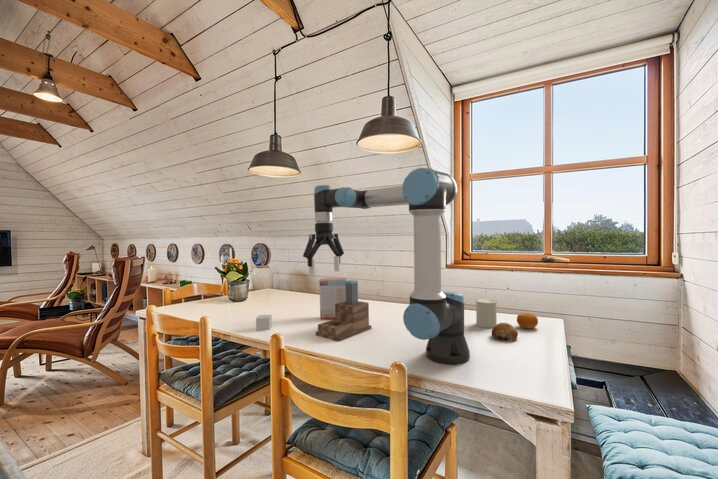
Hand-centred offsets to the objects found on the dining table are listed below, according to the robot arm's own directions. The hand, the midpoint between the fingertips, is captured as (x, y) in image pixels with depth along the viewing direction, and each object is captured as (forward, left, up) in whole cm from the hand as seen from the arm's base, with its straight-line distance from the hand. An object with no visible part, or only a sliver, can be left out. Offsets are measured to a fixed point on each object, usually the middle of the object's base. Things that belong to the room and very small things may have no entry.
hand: (324, 272), depth 138 cm
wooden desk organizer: (0, -11, -28) cm, 30 cm away
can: (-47, -59, -28) cm, 81 cm away
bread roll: (-59, -45, -28) cm, 80 cm away
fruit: (-63, -66, -28) cm, 96 cm away
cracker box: (+21, -26, -28) cm, 44 cm away
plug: (0, -17, -20) cm, 26 cm away
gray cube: (+34, +8, -28) cm, 45 cm away
